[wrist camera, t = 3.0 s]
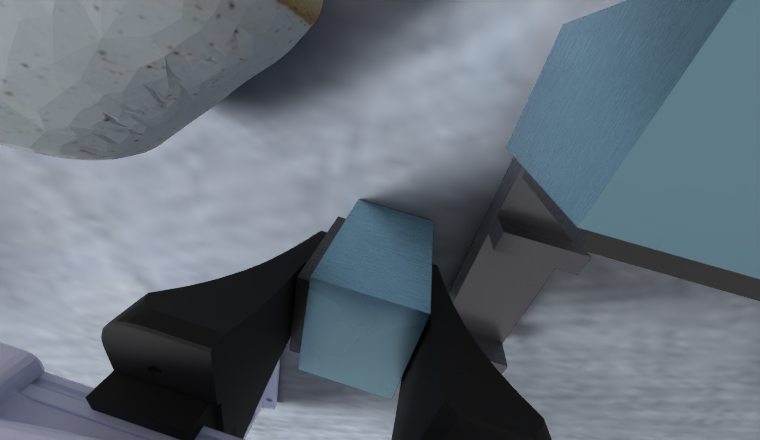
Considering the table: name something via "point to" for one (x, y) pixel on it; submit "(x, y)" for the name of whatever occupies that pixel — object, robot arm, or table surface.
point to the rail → (628, 161)
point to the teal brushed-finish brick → (364, 298)
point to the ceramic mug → (130, 67)
